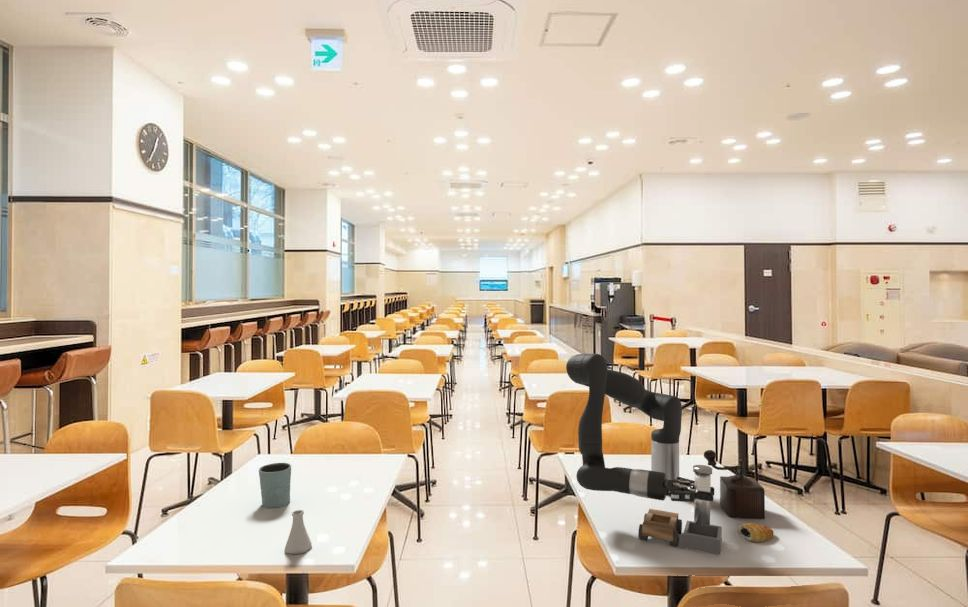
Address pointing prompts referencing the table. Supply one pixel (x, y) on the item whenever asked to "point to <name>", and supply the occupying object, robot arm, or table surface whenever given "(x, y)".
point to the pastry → (755, 532)
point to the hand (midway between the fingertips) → (713, 494)
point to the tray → (702, 538)
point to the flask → (298, 535)
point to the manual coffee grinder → (739, 492)
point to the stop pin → (702, 484)
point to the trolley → (661, 526)
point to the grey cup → (275, 484)
